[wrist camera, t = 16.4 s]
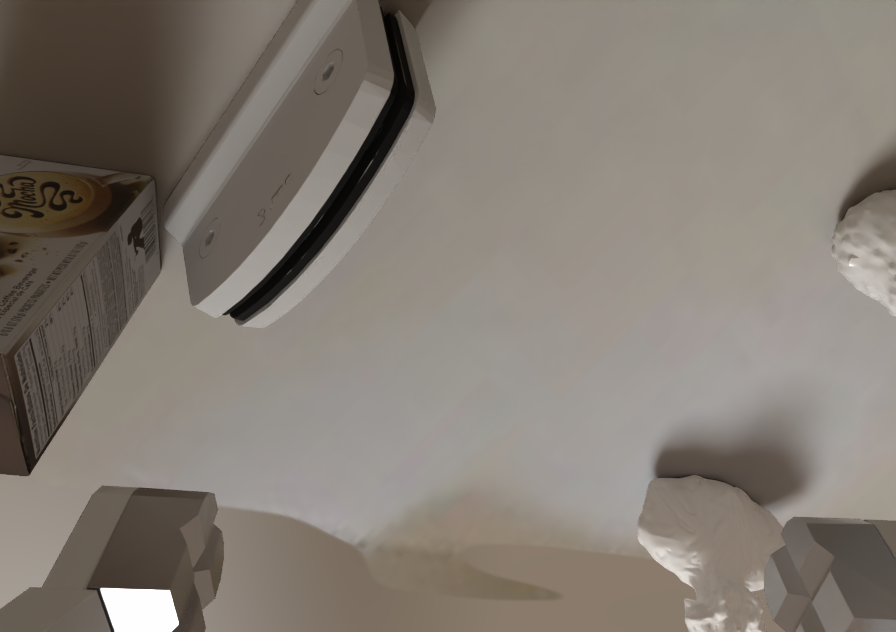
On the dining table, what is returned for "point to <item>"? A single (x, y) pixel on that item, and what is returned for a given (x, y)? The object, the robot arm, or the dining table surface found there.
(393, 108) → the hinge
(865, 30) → the dining table surface
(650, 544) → the bust
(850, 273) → the white creature statuette
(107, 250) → the coffee box
